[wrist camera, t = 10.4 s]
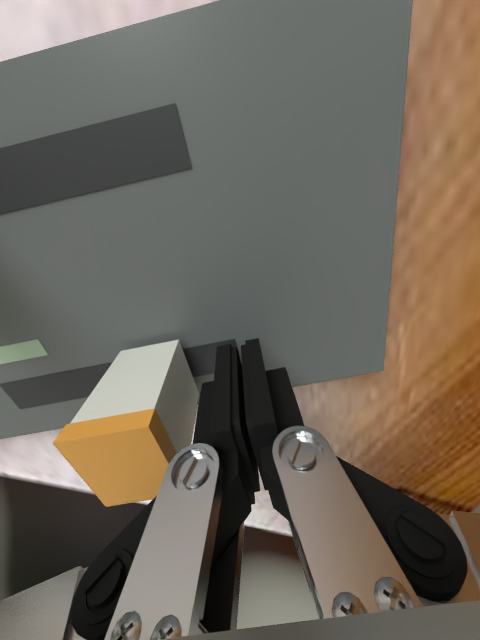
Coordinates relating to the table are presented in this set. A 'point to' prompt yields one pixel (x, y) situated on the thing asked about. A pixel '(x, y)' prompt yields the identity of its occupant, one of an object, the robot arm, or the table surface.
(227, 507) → the robot arm
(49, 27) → the table surface
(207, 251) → the grey slotted panel
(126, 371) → the block
